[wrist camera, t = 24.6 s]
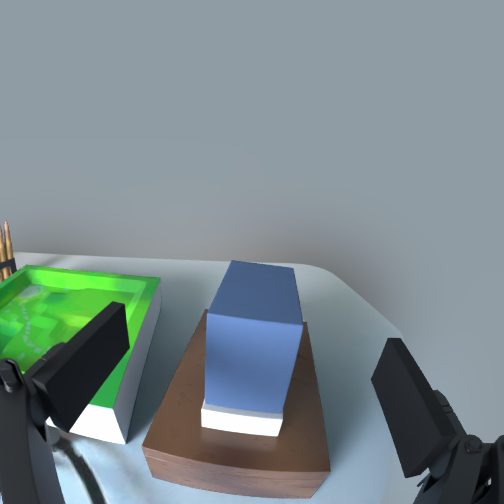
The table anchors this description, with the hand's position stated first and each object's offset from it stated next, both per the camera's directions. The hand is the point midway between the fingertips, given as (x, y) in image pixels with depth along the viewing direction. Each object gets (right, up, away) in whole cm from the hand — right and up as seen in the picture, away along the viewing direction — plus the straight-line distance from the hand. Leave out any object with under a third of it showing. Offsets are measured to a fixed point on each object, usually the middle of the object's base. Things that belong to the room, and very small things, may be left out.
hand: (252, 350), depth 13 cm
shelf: (-1, -10, +11) cm, 15 cm away
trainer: (0, -6, +10) cm, 11 cm away
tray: (-25, -7, +14) cm, 29 cm away
